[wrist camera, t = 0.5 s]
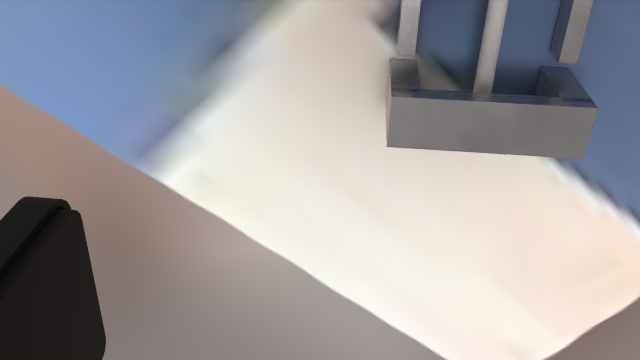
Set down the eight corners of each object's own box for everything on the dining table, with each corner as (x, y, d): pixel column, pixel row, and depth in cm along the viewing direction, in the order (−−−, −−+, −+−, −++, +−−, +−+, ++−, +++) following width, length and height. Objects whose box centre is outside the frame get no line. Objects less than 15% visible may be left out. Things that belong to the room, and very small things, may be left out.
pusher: (435, -102, 31) (442, -90, 27) (580, -96, 31) (607, -84, 27) (414, 75, 36) (419, 104, 33) (538, 82, 36) (556, 112, 32)
